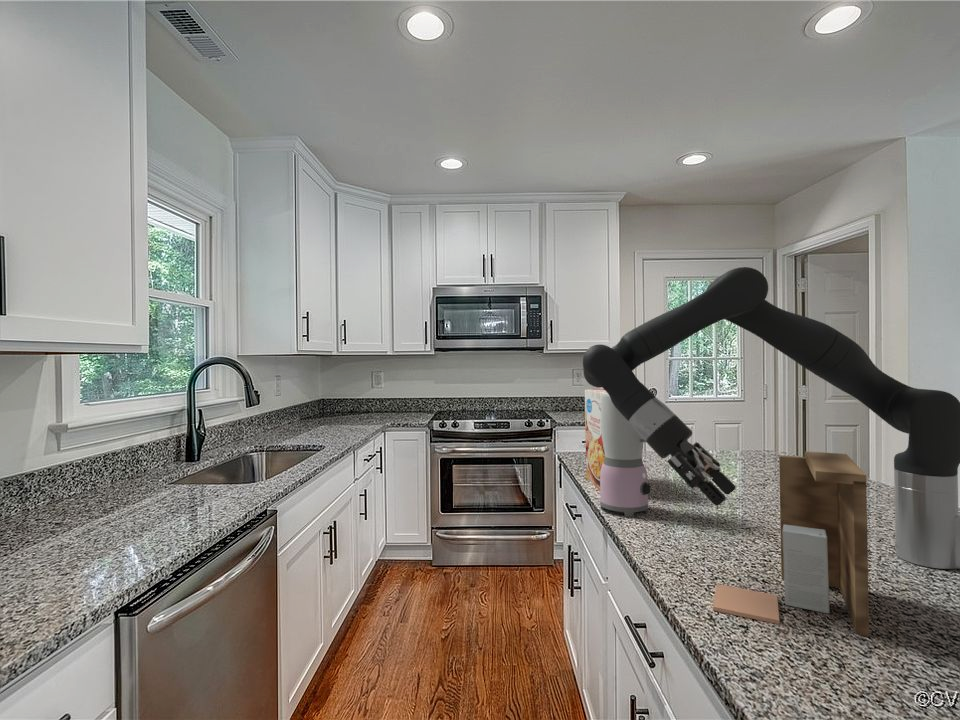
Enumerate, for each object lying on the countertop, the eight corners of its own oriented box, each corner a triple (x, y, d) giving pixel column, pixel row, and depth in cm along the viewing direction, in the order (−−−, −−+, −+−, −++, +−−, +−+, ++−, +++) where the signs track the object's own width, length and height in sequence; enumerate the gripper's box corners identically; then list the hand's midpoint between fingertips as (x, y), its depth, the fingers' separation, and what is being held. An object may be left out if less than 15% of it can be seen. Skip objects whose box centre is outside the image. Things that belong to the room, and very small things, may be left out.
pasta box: (586, 477, 168) (584, 389, 168) (609, 477, 168) (608, 389, 168) (605, 496, 145) (603, 394, 145) (632, 495, 145) (630, 393, 145)
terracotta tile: (777, 598, 82) (777, 595, 82) (779, 624, 74) (779, 620, 74) (716, 587, 86) (716, 583, 86) (713, 610, 78) (713, 606, 78)
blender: (590, 509, 132) (588, 390, 132) (616, 500, 140) (614, 387, 140) (644, 523, 120) (642, 392, 120) (669, 512, 128) (667, 389, 128)
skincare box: (828, 603, 80) (826, 529, 80) (829, 615, 76) (828, 537, 76) (784, 594, 83) (782, 523, 83) (783, 605, 79) (782, 530, 79)
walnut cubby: (848, 586, 85) (846, 453, 85) (869, 636, 70) (866, 474, 70) (781, 575, 90) (778, 449, 90) (786, 619, 75) (783, 468, 75)
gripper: (661, 417, 86) (735, 493, 79) (684, 410, 98) (750, 475, 91) (632, 445, 89) (701, 520, 82) (657, 435, 101) (719, 500, 94)
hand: (727, 496), depth 87 cm, fingers open, 8 cm apart
